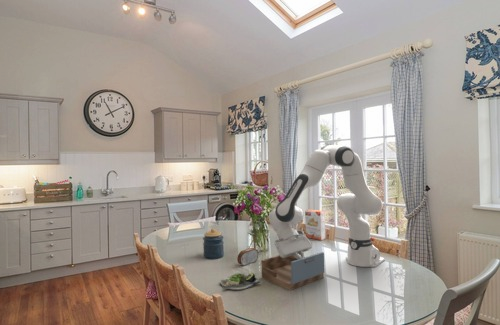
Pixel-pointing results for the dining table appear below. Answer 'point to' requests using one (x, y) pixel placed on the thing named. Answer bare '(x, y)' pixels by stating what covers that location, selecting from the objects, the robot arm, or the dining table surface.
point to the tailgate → (307, 267)
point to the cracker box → (315, 224)
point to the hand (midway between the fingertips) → (302, 260)
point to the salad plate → (239, 281)
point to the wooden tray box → (282, 272)
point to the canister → (213, 244)
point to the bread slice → (247, 256)
